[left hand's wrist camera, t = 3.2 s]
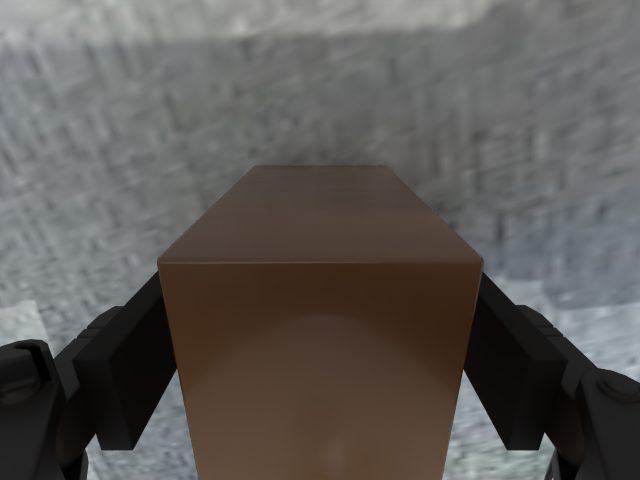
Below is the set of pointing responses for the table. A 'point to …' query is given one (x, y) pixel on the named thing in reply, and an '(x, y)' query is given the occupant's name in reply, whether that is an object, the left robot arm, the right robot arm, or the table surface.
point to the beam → (320, 327)
